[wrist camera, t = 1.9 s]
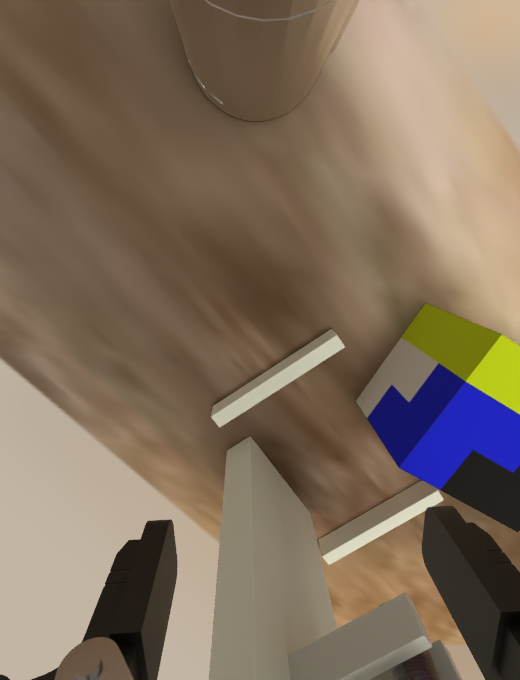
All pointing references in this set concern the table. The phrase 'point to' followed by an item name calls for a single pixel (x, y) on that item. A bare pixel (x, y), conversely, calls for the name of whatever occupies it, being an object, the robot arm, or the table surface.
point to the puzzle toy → (453, 411)
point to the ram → (416, 668)
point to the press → (301, 566)
